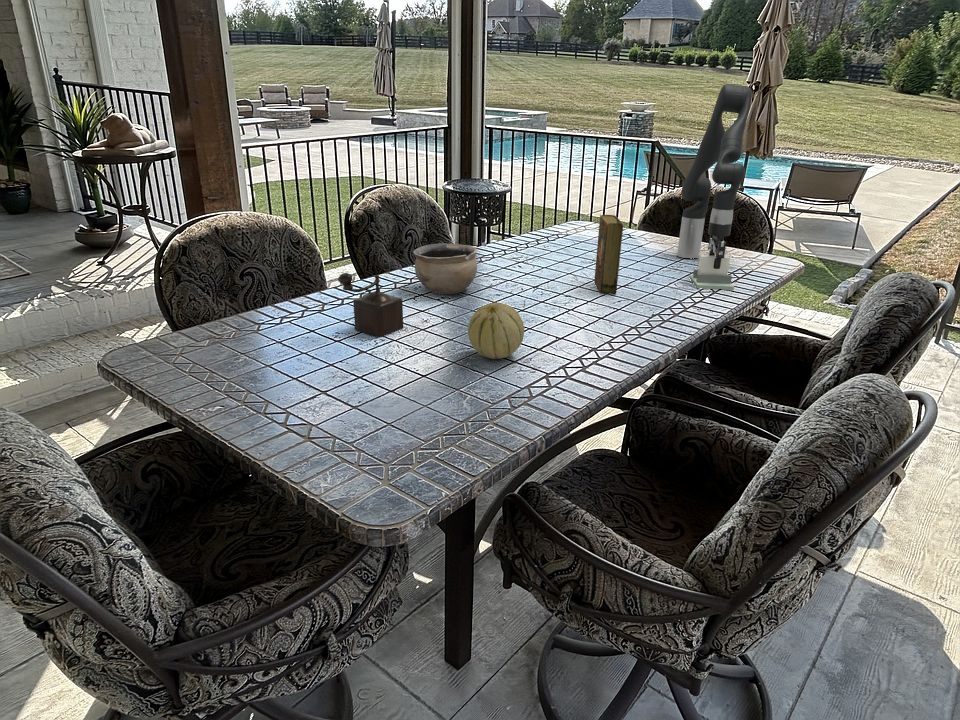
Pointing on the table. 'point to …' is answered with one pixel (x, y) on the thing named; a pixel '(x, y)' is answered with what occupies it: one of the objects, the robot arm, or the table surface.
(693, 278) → the dish rack
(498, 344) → the cantaloupe
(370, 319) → the manual coffee grinder
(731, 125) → the robot arm
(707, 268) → the cream rectangular prism
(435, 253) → the ceramic bowl
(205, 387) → the table surface
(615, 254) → the book
